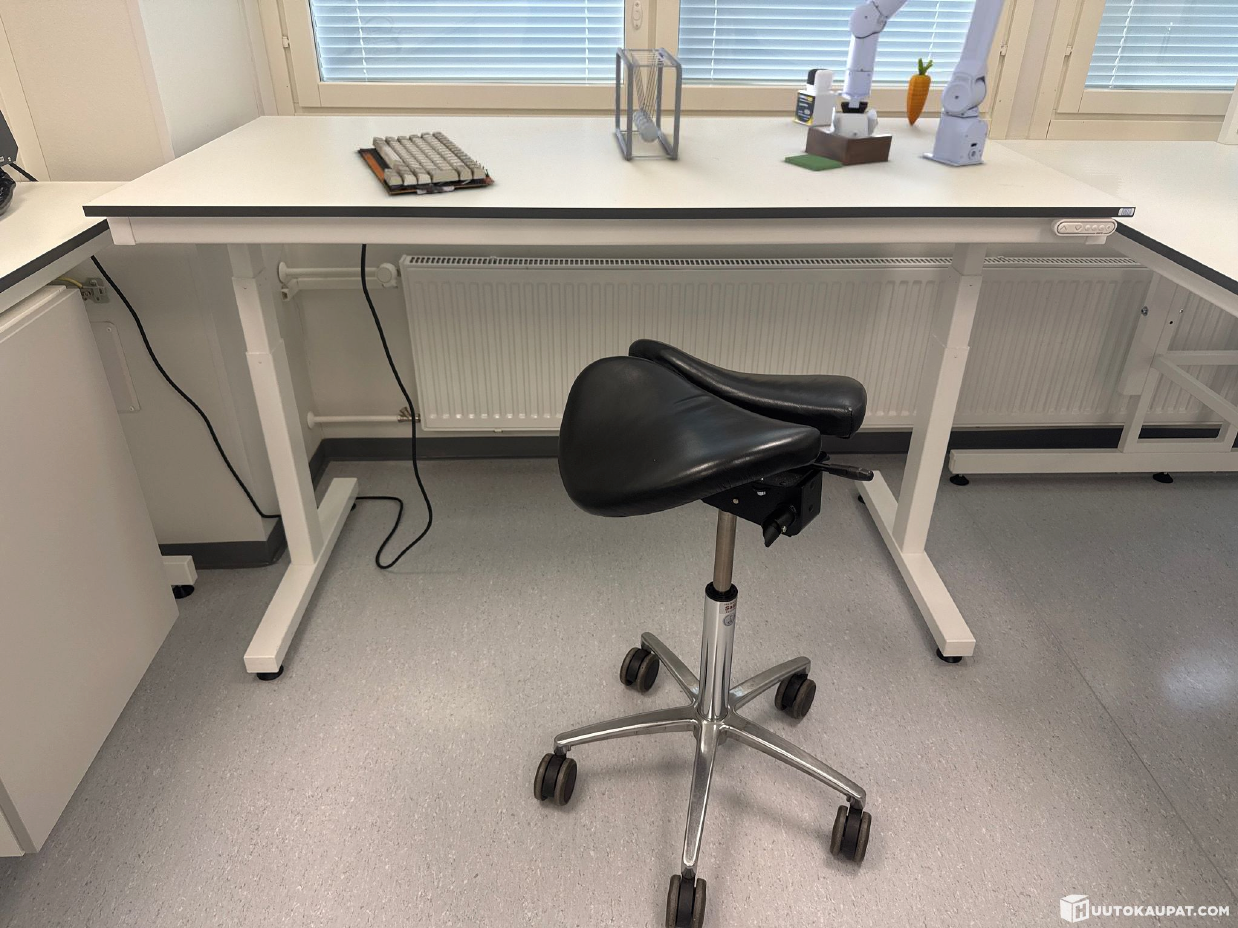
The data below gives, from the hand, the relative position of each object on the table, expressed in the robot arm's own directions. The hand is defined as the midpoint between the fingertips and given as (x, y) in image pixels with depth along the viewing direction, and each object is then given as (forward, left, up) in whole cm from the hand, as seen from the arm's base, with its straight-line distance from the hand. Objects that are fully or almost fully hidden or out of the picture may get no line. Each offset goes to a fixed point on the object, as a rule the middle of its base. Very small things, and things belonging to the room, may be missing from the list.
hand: (849, 137), depth 180 cm
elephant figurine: (-6, +5, -2) cm, 8 cm away
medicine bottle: (+23, -8, -2) cm, 25 cm away
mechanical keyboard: (+11, +92, -2) cm, 93 cm away
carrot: (+12, -29, -2) cm, 31 cm away
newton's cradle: (+14, +43, -2) cm, 46 cm away
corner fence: (-9, +7, -1) cm, 12 cm away
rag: (-13, +19, -1) cm, 23 cm away
